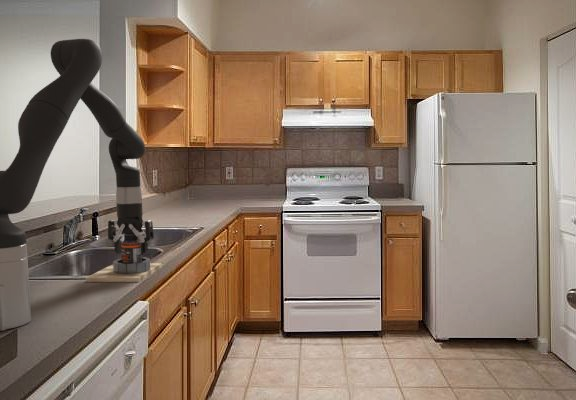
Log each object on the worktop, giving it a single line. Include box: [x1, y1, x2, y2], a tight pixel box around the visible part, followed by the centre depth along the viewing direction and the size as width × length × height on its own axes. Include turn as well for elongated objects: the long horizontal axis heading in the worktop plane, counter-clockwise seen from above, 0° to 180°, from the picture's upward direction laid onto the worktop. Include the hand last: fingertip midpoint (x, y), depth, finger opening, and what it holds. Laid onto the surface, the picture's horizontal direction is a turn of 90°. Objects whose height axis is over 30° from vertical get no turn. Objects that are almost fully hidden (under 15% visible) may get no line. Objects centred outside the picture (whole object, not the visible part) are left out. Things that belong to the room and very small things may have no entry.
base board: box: [85, 262, 163, 283], centre depth 155 cm, size 20×16×1 cm
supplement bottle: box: [121, 234, 143, 263], centre depth 155 cm, size 6×6×11 cm
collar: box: [112, 256, 151, 274], centre depth 155 cm, size 11×11×3 cm
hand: (131, 253), depth 155 cm, fingers open, 8 cm apart
